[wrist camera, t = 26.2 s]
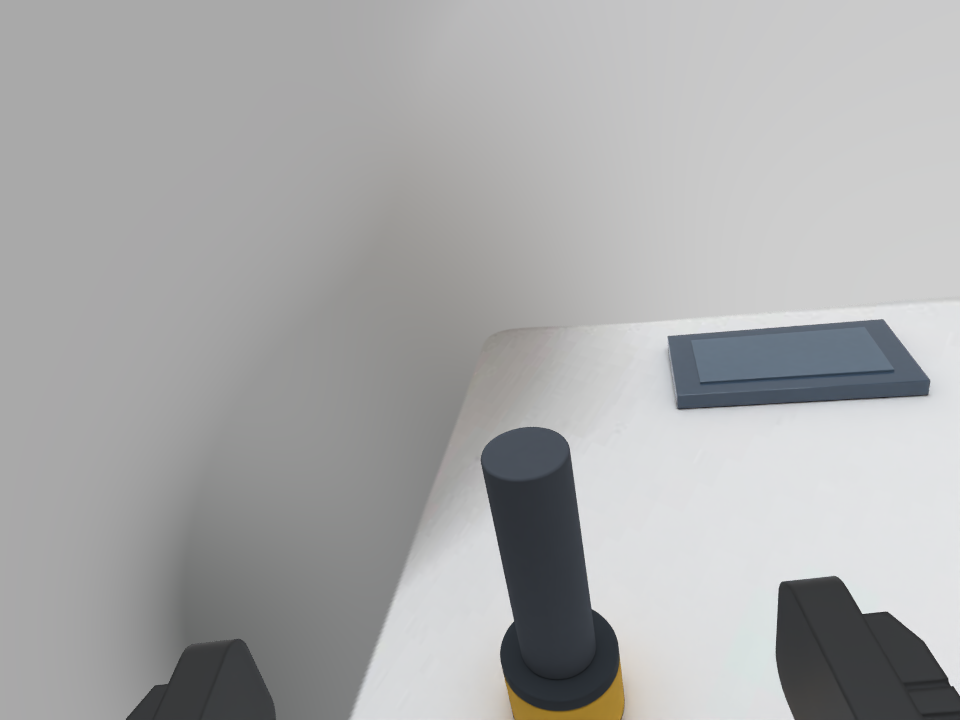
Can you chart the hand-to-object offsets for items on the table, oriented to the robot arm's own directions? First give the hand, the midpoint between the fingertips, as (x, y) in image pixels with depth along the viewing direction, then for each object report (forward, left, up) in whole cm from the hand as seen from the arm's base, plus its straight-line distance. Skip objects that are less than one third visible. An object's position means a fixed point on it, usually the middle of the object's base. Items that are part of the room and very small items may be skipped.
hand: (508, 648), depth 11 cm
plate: (-7, +36, -16) cm, 40 cm away
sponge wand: (-6, +9, -16) cm, 19 cm away
